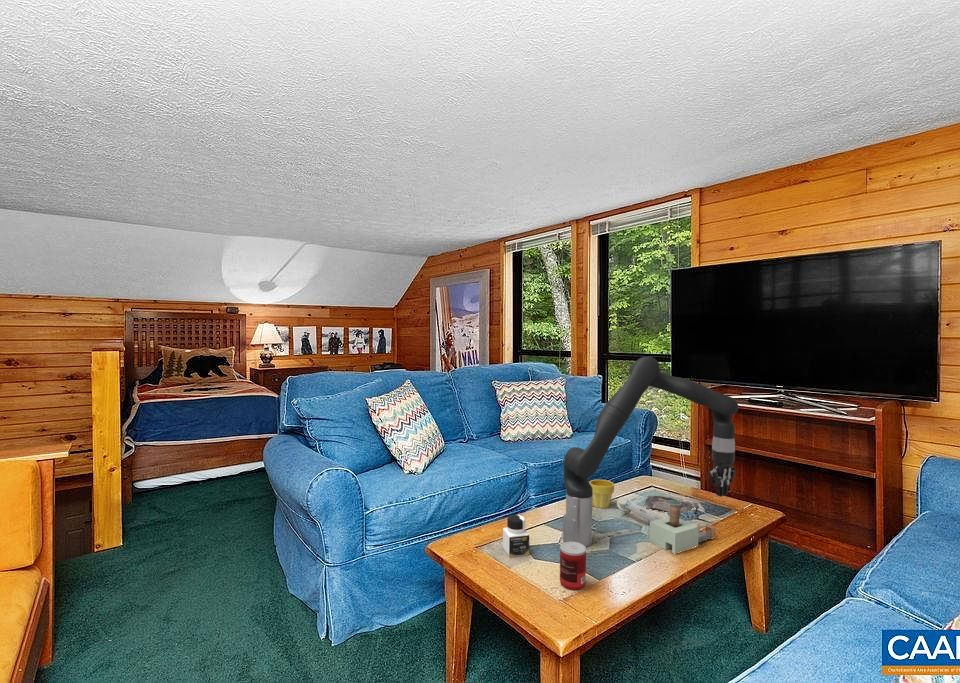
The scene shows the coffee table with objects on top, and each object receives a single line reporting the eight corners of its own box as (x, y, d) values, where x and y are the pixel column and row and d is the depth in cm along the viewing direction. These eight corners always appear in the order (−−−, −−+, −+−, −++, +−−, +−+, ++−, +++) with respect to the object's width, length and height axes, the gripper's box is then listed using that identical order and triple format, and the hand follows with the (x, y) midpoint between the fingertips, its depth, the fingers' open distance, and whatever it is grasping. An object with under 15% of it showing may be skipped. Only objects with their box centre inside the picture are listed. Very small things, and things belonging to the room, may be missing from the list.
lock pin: (691, 545, 171) (691, 534, 170) (685, 543, 173) (685, 532, 172) (714, 538, 177) (715, 527, 177) (709, 535, 179) (709, 525, 179)
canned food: (581, 576, 149) (582, 541, 149) (588, 590, 141) (589, 553, 141) (557, 576, 149) (557, 541, 149) (562, 590, 141) (563, 553, 141)
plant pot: (600, 499, 216) (600, 477, 216) (618, 506, 207) (619, 484, 207) (583, 503, 210) (584, 481, 210) (602, 511, 202) (602, 488, 201)
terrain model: (642, 509, 206) (642, 502, 206) (648, 499, 219) (648, 492, 219) (694, 519, 196) (694, 511, 196) (697, 507, 210) (697, 500, 209)
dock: (674, 554, 165) (675, 533, 164) (649, 541, 174) (649, 521, 174) (698, 546, 170) (698, 526, 170) (672, 534, 180) (672, 515, 180)
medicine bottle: (509, 557, 161) (509, 521, 160) (502, 547, 168) (503, 513, 167) (529, 555, 163) (529, 519, 162) (521, 545, 170) (522, 511, 169)
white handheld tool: (670, 532, 178) (611, 501, 196) (673, 540, 182) (616, 508, 200) (676, 520, 180) (618, 490, 198) (680, 529, 184) (622, 498, 202)
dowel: (674, 537, 170) (675, 509, 170) (666, 534, 173) (668, 506, 172) (680, 536, 172) (681, 508, 171) (673, 532, 174) (674, 505, 174)
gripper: (725, 444, 186) (724, 489, 186) (702, 448, 179) (700, 495, 180) (744, 449, 179) (743, 495, 180) (720, 453, 173) (719, 501, 173)
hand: (721, 495), depth 180 cm, fingers closed
